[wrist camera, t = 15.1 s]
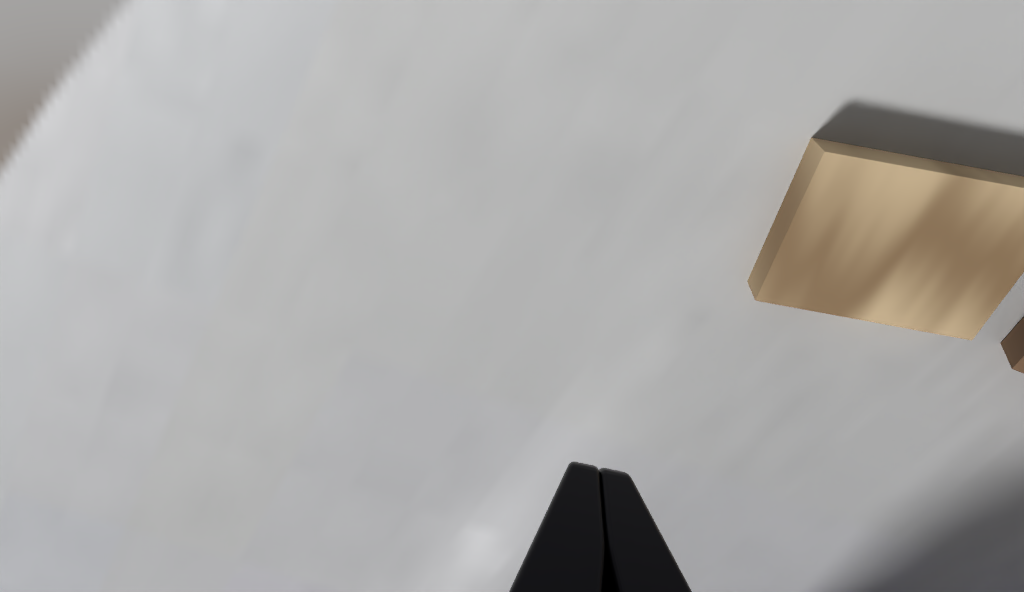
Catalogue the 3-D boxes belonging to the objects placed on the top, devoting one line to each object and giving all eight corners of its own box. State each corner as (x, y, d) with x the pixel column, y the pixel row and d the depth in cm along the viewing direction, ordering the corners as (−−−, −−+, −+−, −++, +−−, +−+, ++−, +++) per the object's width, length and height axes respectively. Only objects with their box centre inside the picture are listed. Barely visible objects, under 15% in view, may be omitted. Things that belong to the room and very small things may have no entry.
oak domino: (744, 274, 20) (946, 311, 20) (755, 300, 19) (971, 340, 19) (806, 132, 17) (1042, 175, 17) (824, 151, 16) (1079, 197, 16)
